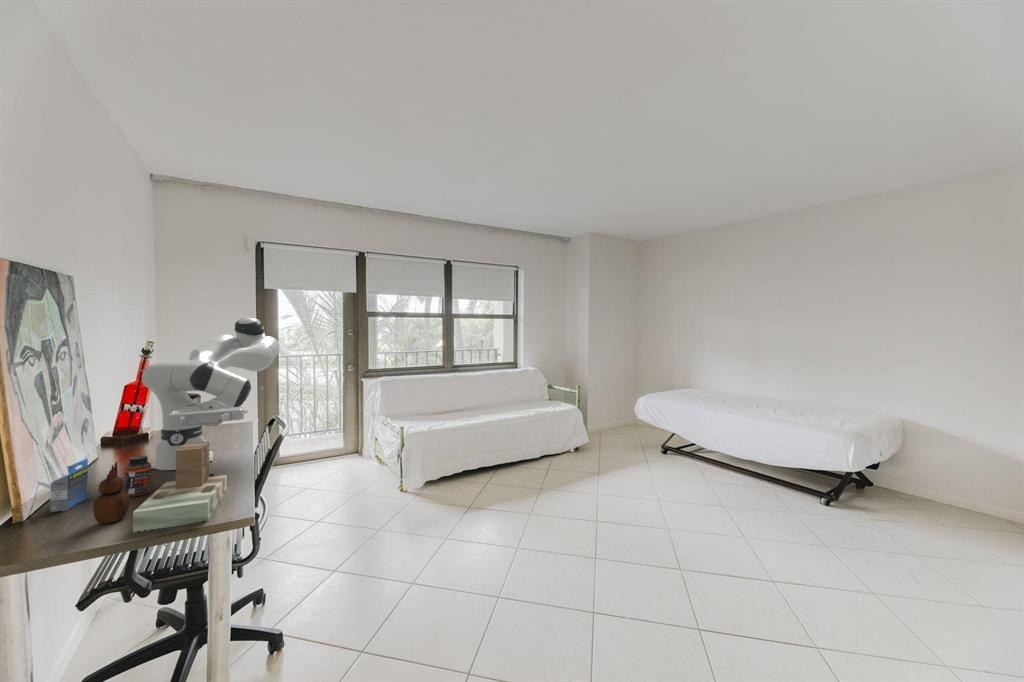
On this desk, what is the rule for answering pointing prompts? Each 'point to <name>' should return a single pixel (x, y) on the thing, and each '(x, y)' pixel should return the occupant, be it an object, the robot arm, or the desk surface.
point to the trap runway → (179, 505)
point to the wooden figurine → (111, 499)
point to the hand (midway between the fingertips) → (202, 420)
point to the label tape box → (69, 488)
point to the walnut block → (192, 465)
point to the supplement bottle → (138, 476)
